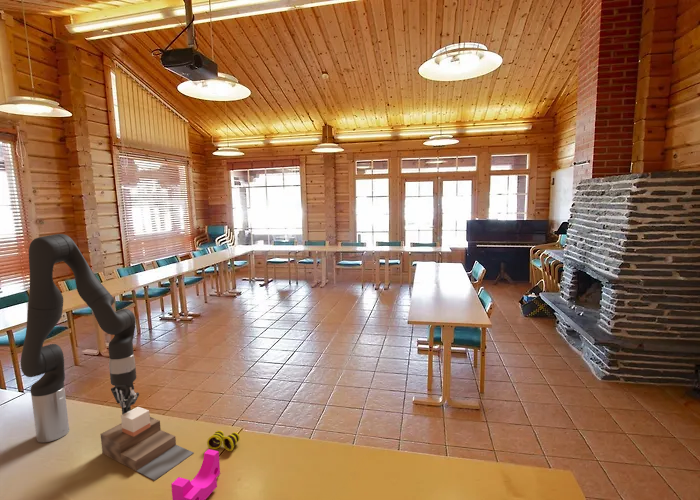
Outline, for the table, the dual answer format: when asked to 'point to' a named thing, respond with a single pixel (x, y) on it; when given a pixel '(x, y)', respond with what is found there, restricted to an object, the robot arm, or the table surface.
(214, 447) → the opera glasses
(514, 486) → the table surface
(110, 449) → the stair block
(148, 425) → the cube
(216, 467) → the magenta clamp bracket
